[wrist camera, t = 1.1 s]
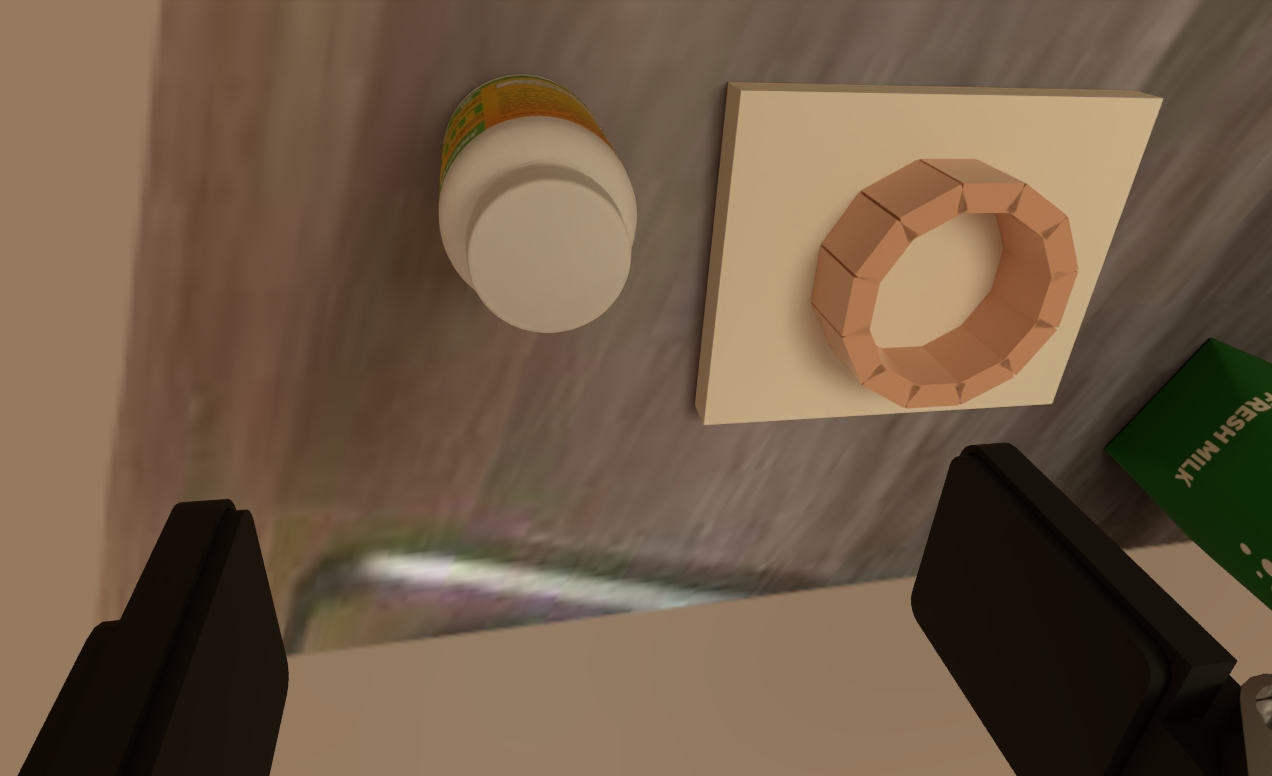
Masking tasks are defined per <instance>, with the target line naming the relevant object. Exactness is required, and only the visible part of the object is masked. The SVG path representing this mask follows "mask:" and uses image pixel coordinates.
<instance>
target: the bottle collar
mask: <svg viewBox="0 0 1272 776" xmlns="http://www.w3.org/2000/svg"><path fill="white" fill-rule="evenodd" d="M861 191H862V194H863V195H862V194H861V193H858V194H857V196H856V197H855V198H854V200H853V201H852V202H851V204H850V205H849V207H848V208H847V209H846V211H845V212H844V213H843V215H842V216H841V217H840V219H839V220H838V221H837V223H836V224H835V226H834V227H833V228H832V230H831V231H830V232H829V234H828V235H827V236H826V238H825V239H824V240H823V242H822V243H821V244H823V245H824V246H820V250H819V256H818V262H817V267H816V273H815V279H814V284H813V290H812V296H811V302H812V303H811V304H812V307H813V309H814V311H815V314H816V316H817V318H818V321H819V323H820V325H821V328H822V330H823V333H824V335H825V337H826V340H827V342H828V344H829V346H830V347H831V349H832V350H833V351H834V352H835V353H836V355H837V356H838V357H839V358H840V359H841V361H842V362H843V363H844V364H845V365H846V367H847V368H848V369H849V370H850V371H851V373H852V374H853V375H854V376H855V377H856V378H857V380H858V381H859V382H860V383H861V384H862V385H863V386H864V387H866V388H868V389H870V390H872V391H873V392H875V393H877V394H879V395H881V396H883V397H884V398H886V399H888V400H890V401H892V402H894V403H895V404H897V405H899V406H901V407H903V408H904V407H905V408H923V407H940V406H956V405H959V403H960V404H963V403H965V402H967V401H969V400H971V399H973V398H975V397H977V396H979V395H981V394H983V393H985V392H987V391H989V390H990V389H992V388H994V387H996V386H998V385H1000V384H1002V383H1004V382H1006V381H1008V380H1010V379H1012V378H1014V376H1013V374H1014V375H1017V374H1018V373H1019V372H1020V371H1021V370H1022V369H1023V367H1024V366H1025V365H1026V364H1027V363H1028V362H1029V361H1030V360H1031V359H1032V357H1033V356H1034V355H1035V354H1036V353H1037V352H1038V351H1039V350H1040V348H1041V347H1042V346H1043V345H1044V344H1045V343H1046V342H1047V341H1048V340H1049V338H1050V337H1051V336H1052V335H1053V334H1054V333H1055V332H1056V331H1057V329H1056V328H1055V327H1059V326H1060V323H1061V320H1062V317H1063V314H1064V311H1065V308H1066V306H1067V303H1068V300H1069V297H1070V294H1071V291H1072V288H1073V286H1074V283H1075V280H1076V277H1077V274H1078V271H1076V270H1078V269H1079V268H1078V263H1077V258H1076V253H1075V248H1074V243H1073V238H1072V233H1071V228H1070V222H1069V218H1068V217H1067V215H1066V214H1065V213H1063V212H1062V211H1061V210H1060V209H1058V208H1057V207H1056V206H1054V205H1053V204H1052V203H1051V202H1049V201H1048V200H1047V199H1046V198H1044V197H1043V196H1042V195H1040V194H1039V193H1038V192H1037V191H1035V190H1034V189H1033V188H1032V187H1030V186H1029V185H1028V184H1026V183H1024V182H1022V181H1020V180H1018V179H1016V178H1014V177H1012V176H1010V175H1008V174H1006V173H1004V172H1002V171H1000V170H998V169H996V168H994V167H992V166H990V165H988V164H986V163H984V162H982V161H980V160H977V159H920V160H915V161H913V162H912V163H910V164H908V165H906V166H904V167H903V168H901V169H899V170H897V171H895V172H894V173H892V174H890V175H888V176H886V177H884V178H883V179H881V180H879V181H877V182H875V183H874V184H872V185H870V186H868V187H866V188H864V189H863V190H861ZM962 213H995V215H996V219H997V223H998V227H999V231H1000V235H1001V239H1002V243H1003V247H1004V248H1003V252H1002V255H1001V259H1000V262H999V265H998V269H997V272H996V276H995V279H994V282H993V286H992V289H991V291H990V292H989V293H988V294H987V296H986V297H985V298H984V299H983V300H982V301H981V303H980V304H979V305H978V306H977V307H976V309H975V310H974V311H973V312H972V313H971V314H970V316H969V317H968V318H967V319H966V320H965V322H964V323H963V324H962V325H961V326H959V327H957V328H955V329H954V330H952V331H950V332H948V333H946V334H944V335H942V336H940V337H938V338H936V339H935V340H933V341H931V342H929V343H927V344H925V345H923V346H917V347H894V348H881V347H879V346H877V345H876V344H875V342H874V339H873V337H872V334H871V331H870V326H871V322H872V317H873V312H874V308H875V303H876V299H877V294H878V290H879V285H880V282H881V281H882V280H883V278H884V277H885V276H886V275H887V273H888V272H889V271H890V269H891V268H892V267H893V266H894V264H895V263H896V262H897V260H898V259H899V258H900V257H901V255H902V254H903V253H904V252H905V250H906V249H907V248H908V246H909V245H910V244H911V243H912V241H913V240H914V239H916V238H918V237H919V236H921V235H923V234H925V233H927V232H929V231H931V230H932V229H934V228H936V227H938V226H940V225H942V224H943V223H945V222H947V221H949V220H951V219H953V218H955V217H956V216H958V215H960V214H962Z"/></svg>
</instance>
